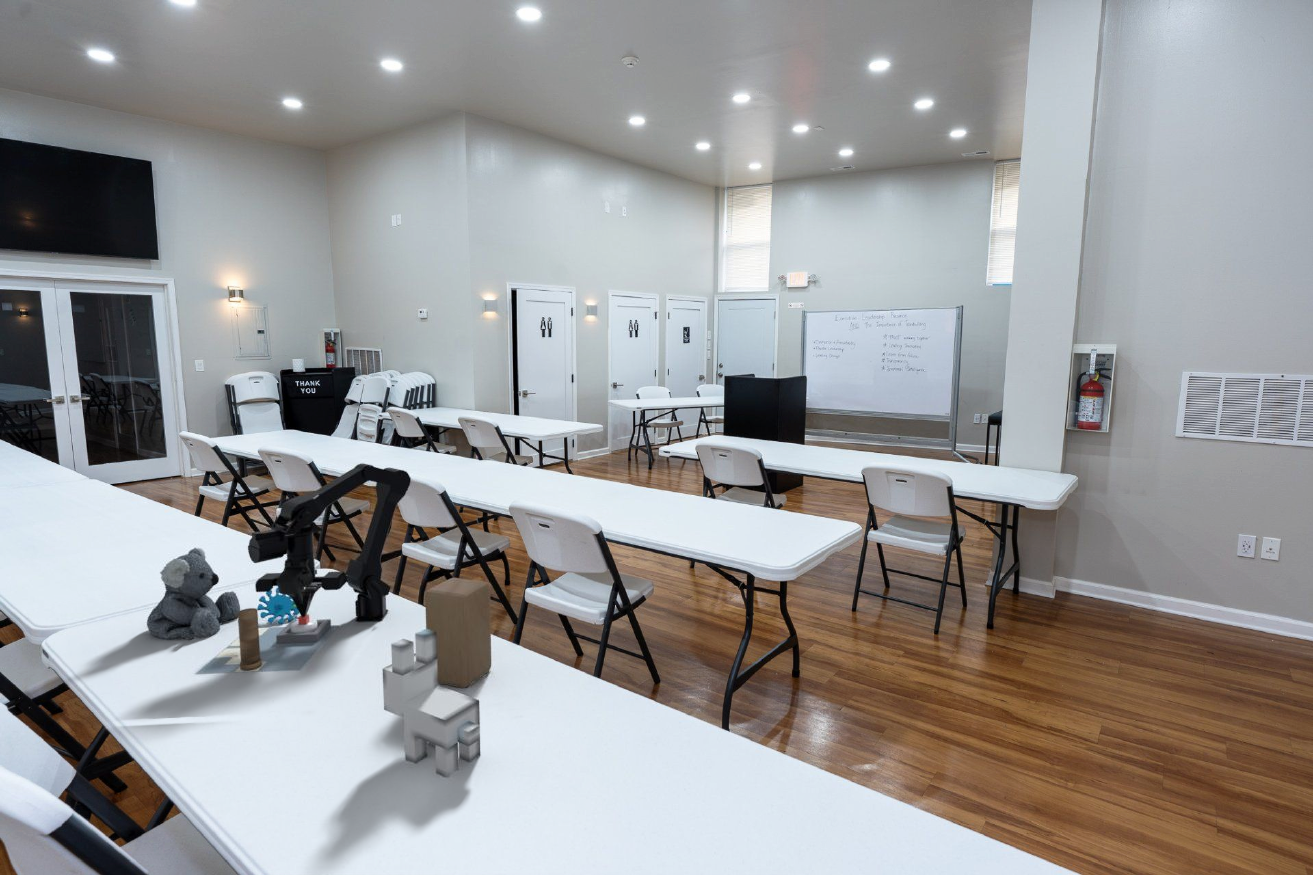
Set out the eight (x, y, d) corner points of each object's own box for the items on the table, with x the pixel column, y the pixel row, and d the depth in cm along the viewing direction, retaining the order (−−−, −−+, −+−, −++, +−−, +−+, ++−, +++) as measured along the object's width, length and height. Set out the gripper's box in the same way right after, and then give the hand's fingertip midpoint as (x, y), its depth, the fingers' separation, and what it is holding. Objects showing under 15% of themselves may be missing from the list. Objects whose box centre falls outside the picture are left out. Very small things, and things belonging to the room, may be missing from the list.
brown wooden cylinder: (265, 661, 149) (261, 607, 147) (256, 670, 145) (253, 614, 143) (245, 662, 148) (242, 608, 147) (236, 671, 144) (232, 615, 143)
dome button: (321, 628, 166) (320, 611, 165) (312, 637, 160) (311, 620, 160) (297, 629, 165) (296, 611, 165) (287, 638, 160) (286, 620, 159)
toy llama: (458, 783, 109) (455, 665, 107) (385, 750, 118) (381, 640, 116) (491, 759, 116) (489, 647, 113) (420, 729, 124) (416, 625, 122)
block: (493, 669, 148) (491, 581, 146) (466, 690, 139) (464, 596, 137) (454, 661, 152) (452, 575, 149) (425, 682, 142) (422, 590, 140)
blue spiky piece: (259, 623, 167) (257, 587, 172) (254, 634, 170) (253, 598, 176) (308, 619, 174) (305, 584, 179) (303, 629, 177) (300, 595, 183)
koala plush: (213, 641, 161) (208, 561, 158) (129, 645, 158) (122, 564, 155) (245, 613, 178) (240, 541, 175) (169, 617, 175) (163, 543, 172)
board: (339, 628, 169) (338, 617, 169) (300, 673, 145) (299, 660, 145) (249, 631, 166) (248, 620, 166) (195, 677, 143) (194, 664, 142)
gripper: (241, 564, 151) (246, 631, 153) (329, 562, 153) (333, 628, 155) (264, 549, 162) (268, 612, 164) (346, 548, 164) (349, 609, 166)
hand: (304, 615), depth 162 cm, fingers closed, pressing on dome button
